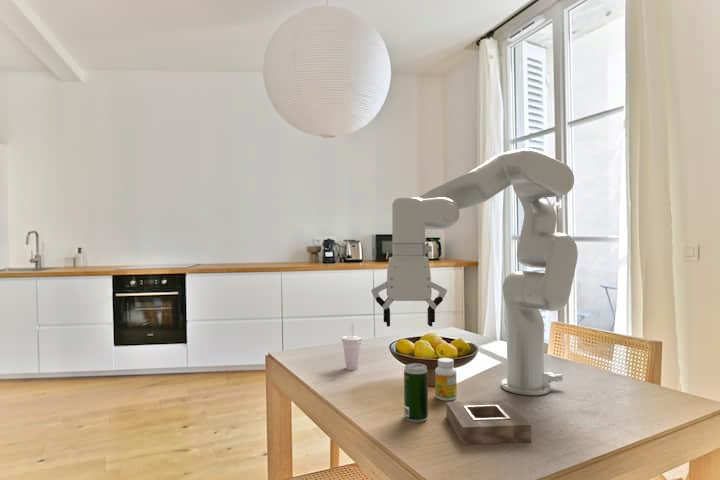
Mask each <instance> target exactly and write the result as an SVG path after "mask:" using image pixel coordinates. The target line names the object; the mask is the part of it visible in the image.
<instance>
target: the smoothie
mask: <svg viewBox="0 0 720 480" xmlns="http://www.w3.org/2000/svg"><path fill="white" fill-rule="evenodd" d="M354 327H355V326H354V323H351V335H345V336H342V337H341V342H342V347H343V353H344V354H343V355H344V361H345V368H346V370H348V371H355V370H359V364H360V353H361V347H362V341H363V337H362V336H360V335H354V332H355V331H354Z"/></svg>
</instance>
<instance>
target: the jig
mask: <svg viewBox="0 0 720 480" xmlns="http://www.w3.org/2000/svg"><path fill="white" fill-rule="evenodd" d="M445 403H446V404H445V406H446V408H445V409H446V415H445V417H446V419H447V421H448V422H449V424H450V426H451V428H452V429H453V431H454V432H455V434H456V436H457V437H458V439H459V440H460V442H461V444H462V445H463V446H464V445H485V444H488V445H489V444H493V445H494V444H514V443H515V444H517V443H532V424H531V423H530V422H529V421H528V420H527V419H526V418H525V417H524V416H523V415H522V414H520V412H518V410H517V409H516V408H515V407H514V406H513V405H512V404H511V403H509V402H508V401H507V399H503V400H502V399H501V400H477V401H473V400H471V401H446V402H445ZM474 405H498V406H499V407H500V408H501V409H502V410H503V411H504V412H505V413H506V414H507V415H508V416H509V417H510V419H506V420H477V421H473V419H472V418H471V416H470V415H469V414H468V412H467V411H466V410H465V408H464V407H463V406H474ZM468 409H469V410H470V412H471V413H472V414H473V416H474V417H475V418H503V417H505V416H504V415H503V414H502V413H501V412H500V411H499V410H498V409H497V407H472V408H468Z"/></svg>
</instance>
